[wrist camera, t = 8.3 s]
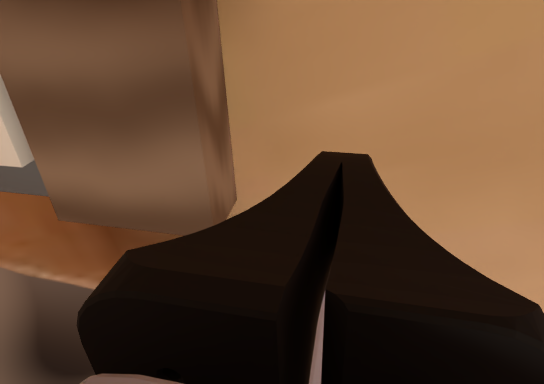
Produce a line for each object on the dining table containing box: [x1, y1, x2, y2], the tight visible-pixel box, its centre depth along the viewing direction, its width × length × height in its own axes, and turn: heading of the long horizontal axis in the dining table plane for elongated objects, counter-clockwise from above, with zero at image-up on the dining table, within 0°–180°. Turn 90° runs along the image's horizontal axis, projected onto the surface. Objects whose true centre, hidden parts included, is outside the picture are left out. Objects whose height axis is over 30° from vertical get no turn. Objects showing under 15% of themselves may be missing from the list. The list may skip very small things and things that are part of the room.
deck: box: [0, 0, 237, 236], centre depth 21 cm, size 14×10×4 cm
